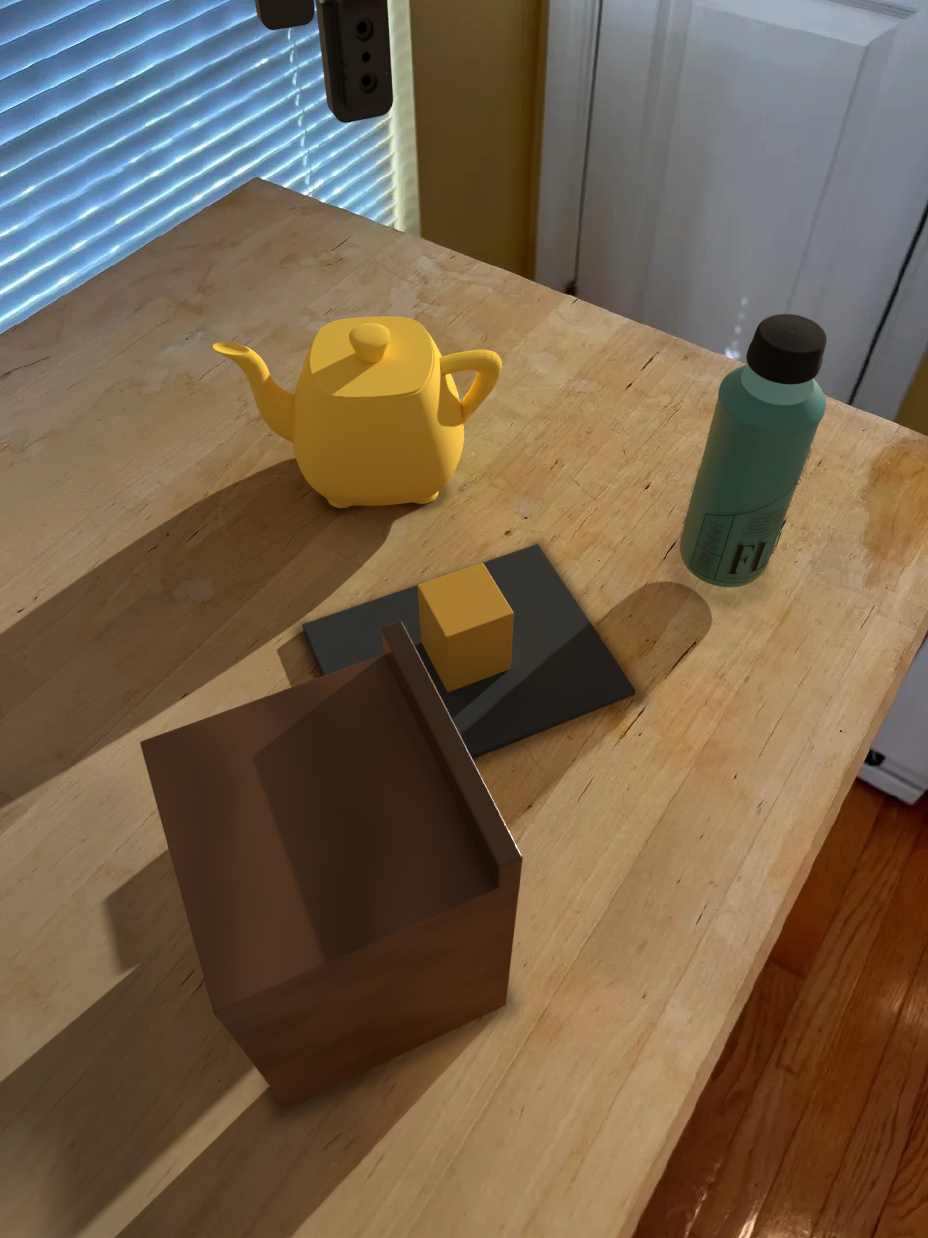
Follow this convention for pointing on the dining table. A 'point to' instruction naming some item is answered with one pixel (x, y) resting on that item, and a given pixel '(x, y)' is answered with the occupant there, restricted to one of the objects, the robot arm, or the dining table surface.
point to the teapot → (372, 409)
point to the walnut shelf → (339, 870)
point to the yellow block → (465, 626)
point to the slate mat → (540, 655)
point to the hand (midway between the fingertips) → (322, 66)
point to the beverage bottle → (755, 453)
